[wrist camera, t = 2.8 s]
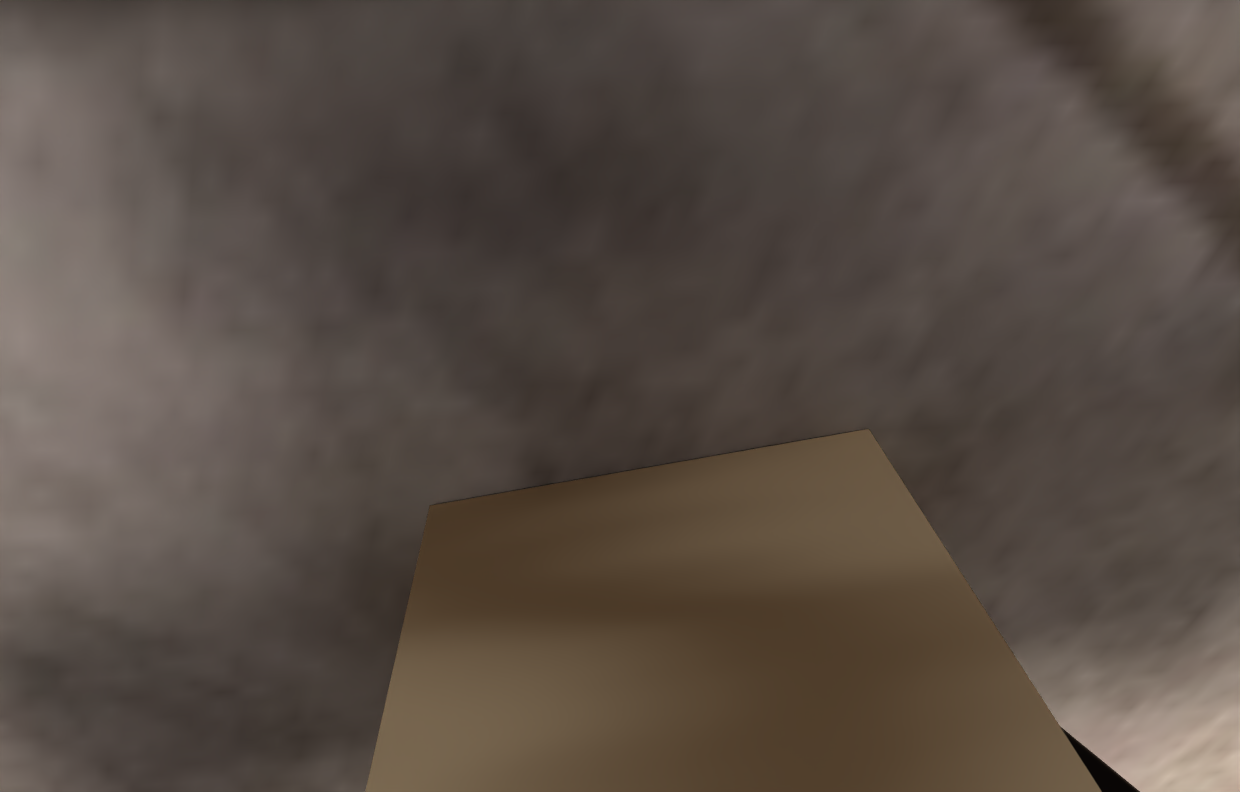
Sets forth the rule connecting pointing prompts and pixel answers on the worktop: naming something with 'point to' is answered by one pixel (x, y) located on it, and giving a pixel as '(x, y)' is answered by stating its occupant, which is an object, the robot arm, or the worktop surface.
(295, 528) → the worktop surface
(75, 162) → the worktop surface
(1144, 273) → the worktop surface
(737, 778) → the maple cube
